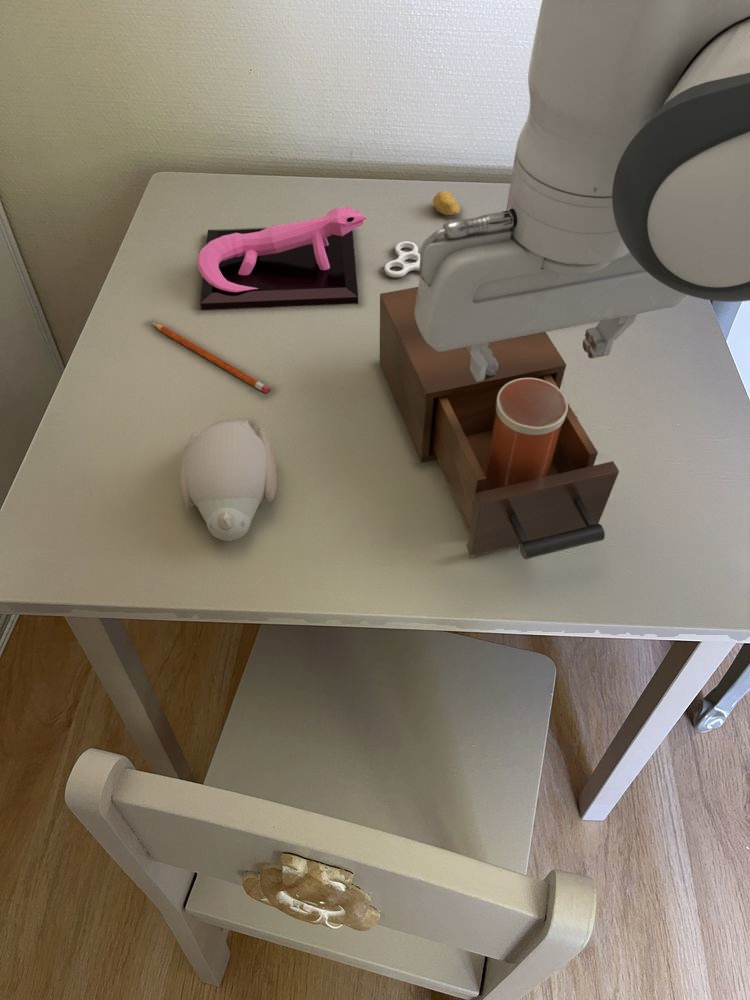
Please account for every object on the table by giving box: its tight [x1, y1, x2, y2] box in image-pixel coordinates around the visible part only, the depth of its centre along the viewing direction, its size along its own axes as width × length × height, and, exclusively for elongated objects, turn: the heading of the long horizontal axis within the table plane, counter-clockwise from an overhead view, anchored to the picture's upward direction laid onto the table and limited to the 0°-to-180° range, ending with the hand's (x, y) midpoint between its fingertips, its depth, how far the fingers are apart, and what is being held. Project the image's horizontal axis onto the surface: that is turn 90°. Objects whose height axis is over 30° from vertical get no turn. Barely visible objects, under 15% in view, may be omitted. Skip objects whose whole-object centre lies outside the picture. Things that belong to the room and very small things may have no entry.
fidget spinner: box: [383, 240, 420, 278], centre depth 96 cm, size 7×6×1 cm
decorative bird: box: [178, 419, 278, 542], centre depth 72 cm, size 9×16×8 cm, turn 9°
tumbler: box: [484, 378, 569, 491], centre depth 68 cm, size 6×6×11 cm
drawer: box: [430, 374, 620, 560], centre depth 69 cm, size 18×12×8 cm
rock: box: [432, 190, 461, 216], centre depth 102 cm, size 4×4×3 cm
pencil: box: [152, 322, 271, 395], centre depth 86 cm, size 1×18×1 cm, turn 52°
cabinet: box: [378, 286, 567, 464], centre depth 78 cm, size 15×14×10 cm
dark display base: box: [196, 206, 367, 311], centre depth 92 cm, size 15×20×7 cm
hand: (539, 363), depth 60 cm, fingers open, 8 cm apart
